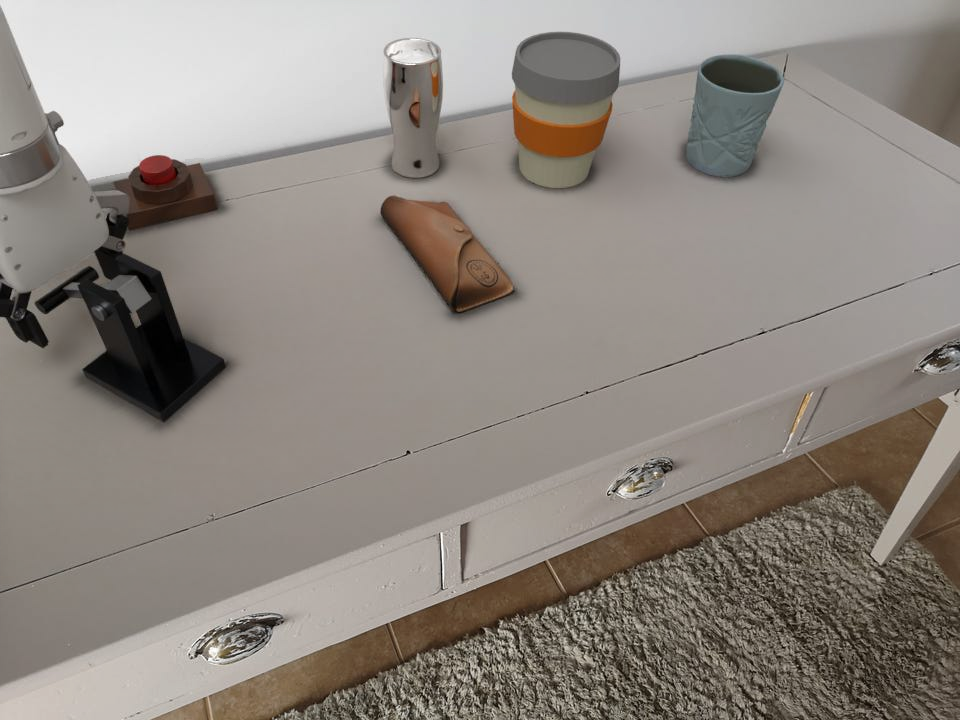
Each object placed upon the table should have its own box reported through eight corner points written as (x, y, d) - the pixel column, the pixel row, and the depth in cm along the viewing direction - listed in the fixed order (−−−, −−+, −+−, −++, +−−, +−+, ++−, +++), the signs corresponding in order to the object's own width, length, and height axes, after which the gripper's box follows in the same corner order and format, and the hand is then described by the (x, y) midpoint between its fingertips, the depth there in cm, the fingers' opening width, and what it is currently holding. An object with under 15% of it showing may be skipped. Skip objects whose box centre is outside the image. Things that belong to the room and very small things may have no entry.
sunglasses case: (521, 287, 83) (497, 254, 77) (471, 329, 83) (443, 300, 78) (443, 198, 93) (416, 164, 88) (399, 236, 94) (370, 204, 88)
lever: (44, 318, 71) (28, 297, 70) (96, 282, 75) (82, 261, 74) (114, 327, 64) (97, 303, 63) (168, 286, 68) (154, 263, 67)
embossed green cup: (768, 177, 100) (799, 90, 91) (695, 184, 98) (720, 96, 90) (734, 135, 107) (760, 50, 98) (665, 141, 105) (686, 56, 96)
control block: (129, 230, 88) (118, 201, 85) (118, 197, 92) (107, 168, 89) (217, 209, 91) (210, 180, 88) (203, 178, 95) (196, 149, 92)
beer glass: (453, 170, 98) (454, 55, 87) (405, 186, 96) (401, 70, 85) (424, 144, 102) (422, 31, 91) (378, 159, 99) (370, 45, 88)
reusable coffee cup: (552, 209, 94) (567, 93, 83) (485, 162, 100) (490, 48, 89) (623, 173, 99) (645, 60, 88) (555, 131, 106) (568, 21, 95)
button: (146, 189, 87) (142, 175, 86) (140, 172, 89) (136, 159, 88) (179, 181, 88) (175, 168, 87) (172, 165, 91) (168, 152, 89)
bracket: (85, 377, 73) (38, 283, 64) (150, 327, 78) (114, 232, 69) (163, 422, 70) (124, 329, 61) (226, 366, 74) (198, 273, 66)
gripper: (63, 93, 68) (121, 247, 80) (-131, 190, 57) (-29, 350, 70) (124, 118, 65) (175, 273, 78) (-67, 224, 55) (27, 383, 67)
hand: (78, 309), depth 74 cm, fingers open, 9 cm apart
